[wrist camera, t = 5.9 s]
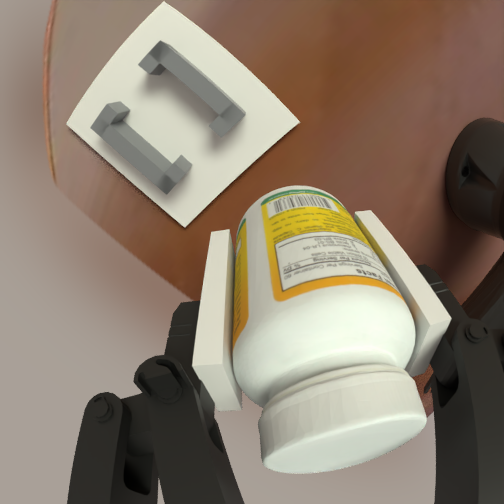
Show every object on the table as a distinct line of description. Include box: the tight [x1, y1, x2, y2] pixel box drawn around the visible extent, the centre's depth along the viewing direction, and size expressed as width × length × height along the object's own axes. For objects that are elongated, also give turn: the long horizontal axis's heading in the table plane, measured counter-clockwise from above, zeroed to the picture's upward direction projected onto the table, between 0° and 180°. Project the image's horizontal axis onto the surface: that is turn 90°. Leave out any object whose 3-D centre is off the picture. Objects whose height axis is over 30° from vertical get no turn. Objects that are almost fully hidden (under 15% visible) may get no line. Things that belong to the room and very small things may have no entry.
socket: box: [66, 2, 299, 227], centre depth 23 cm, size 18×16×4 cm
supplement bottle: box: [233, 186, 427, 473], centre depth 9 cm, size 5×5×10 cm
